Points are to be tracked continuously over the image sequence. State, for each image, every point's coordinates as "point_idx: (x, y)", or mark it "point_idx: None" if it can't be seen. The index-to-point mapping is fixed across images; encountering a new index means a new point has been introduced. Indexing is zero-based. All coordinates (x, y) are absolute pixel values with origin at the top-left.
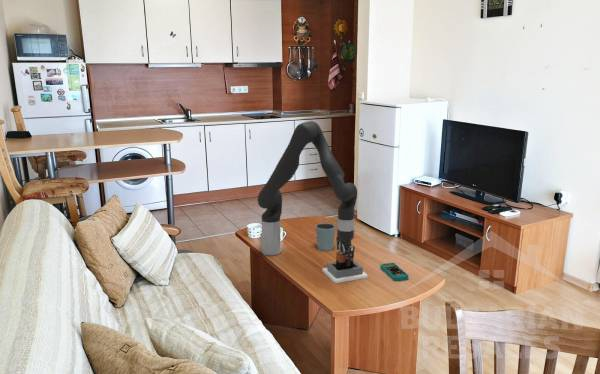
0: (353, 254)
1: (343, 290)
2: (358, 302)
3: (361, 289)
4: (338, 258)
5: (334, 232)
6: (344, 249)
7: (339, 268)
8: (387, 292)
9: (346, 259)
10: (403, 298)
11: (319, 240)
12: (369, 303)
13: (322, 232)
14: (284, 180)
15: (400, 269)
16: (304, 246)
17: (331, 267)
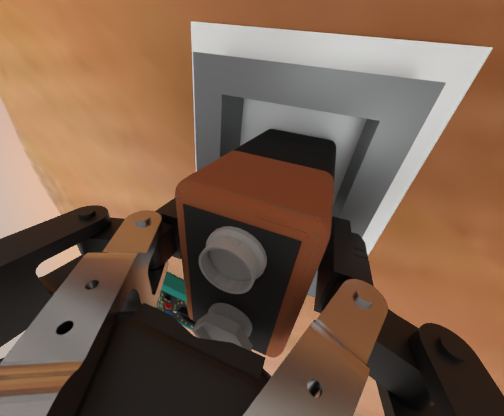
0: (48, 278)
1: (110, 27)
2: (4, 31)
3: (115, 133)
4: (250, 169)
5: None
6: (45, 309)
7: (258, 136)
8: (91, 198)
9: (167, 210)
10: (59, 206)
11: None
12: (9, 79)
13: None
14: None
15: (187, 325)
16: None
17: (312, 68)
